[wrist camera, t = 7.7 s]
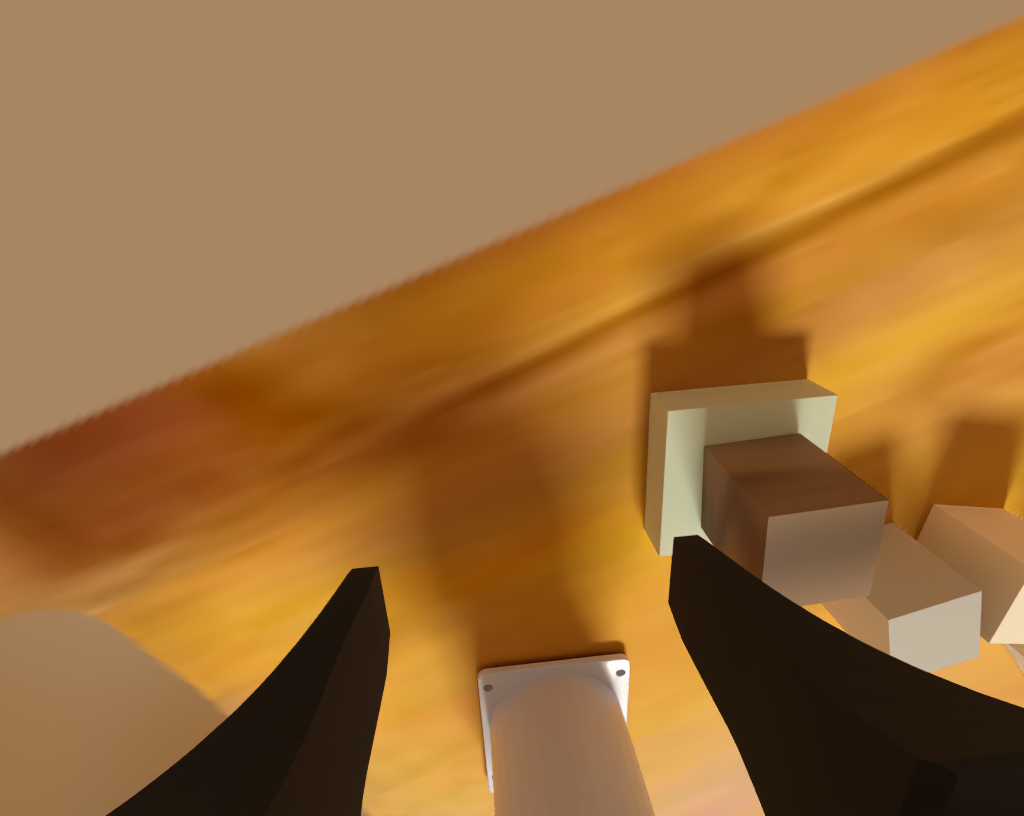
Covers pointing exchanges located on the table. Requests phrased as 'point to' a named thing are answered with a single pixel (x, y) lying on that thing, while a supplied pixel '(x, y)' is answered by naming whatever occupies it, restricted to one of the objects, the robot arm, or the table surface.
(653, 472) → the sage slab
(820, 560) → the walnut block
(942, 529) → the cream block
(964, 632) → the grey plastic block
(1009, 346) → the table surface
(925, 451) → the table surface
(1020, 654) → the supplement box
